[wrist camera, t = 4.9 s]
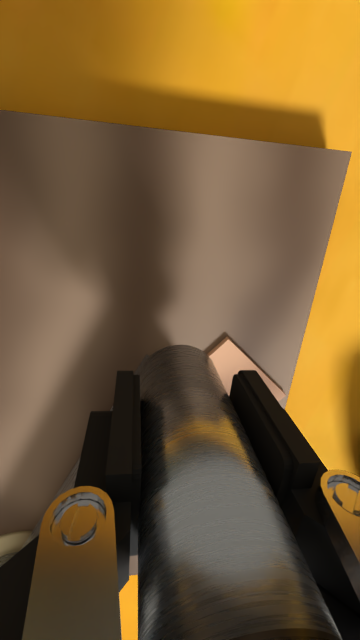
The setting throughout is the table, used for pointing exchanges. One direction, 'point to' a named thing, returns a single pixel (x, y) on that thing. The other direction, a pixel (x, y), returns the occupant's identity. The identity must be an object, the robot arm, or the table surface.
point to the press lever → (210, 519)
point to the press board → (141, 275)
